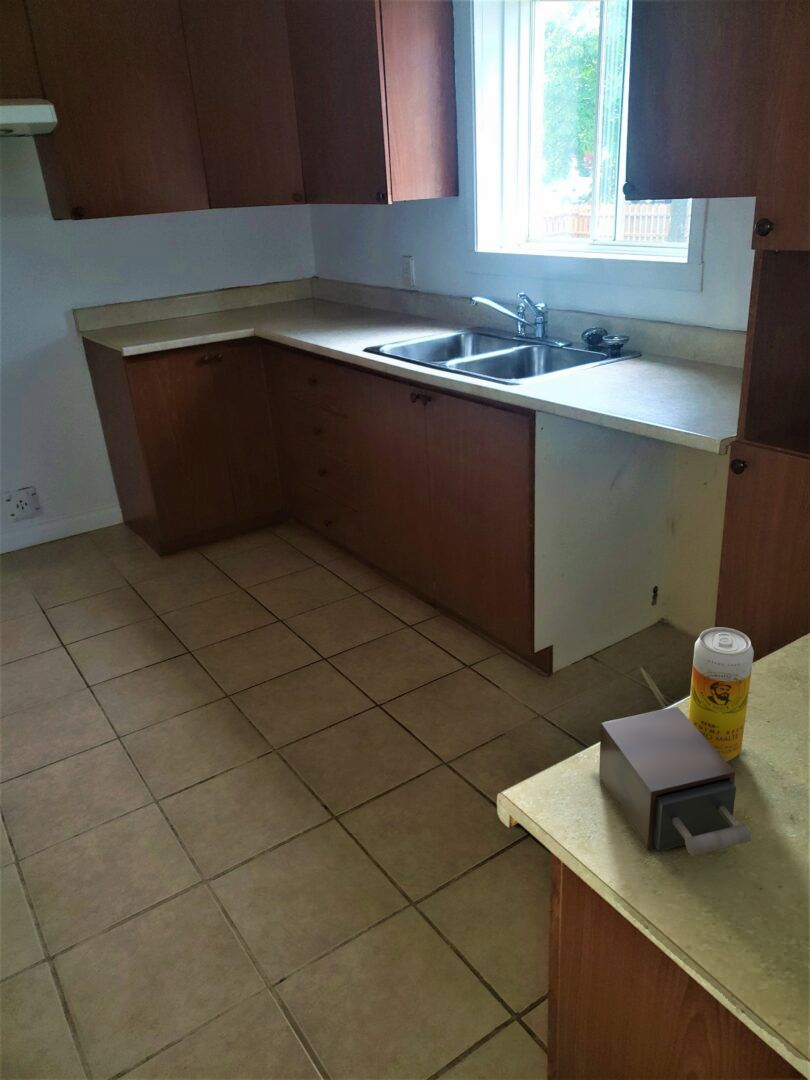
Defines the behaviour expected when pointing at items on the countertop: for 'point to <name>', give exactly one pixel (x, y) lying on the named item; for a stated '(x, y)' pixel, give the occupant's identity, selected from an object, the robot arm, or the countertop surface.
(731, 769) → the cabinet
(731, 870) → the countertop surface
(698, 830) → the drawer
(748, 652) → the beer can
